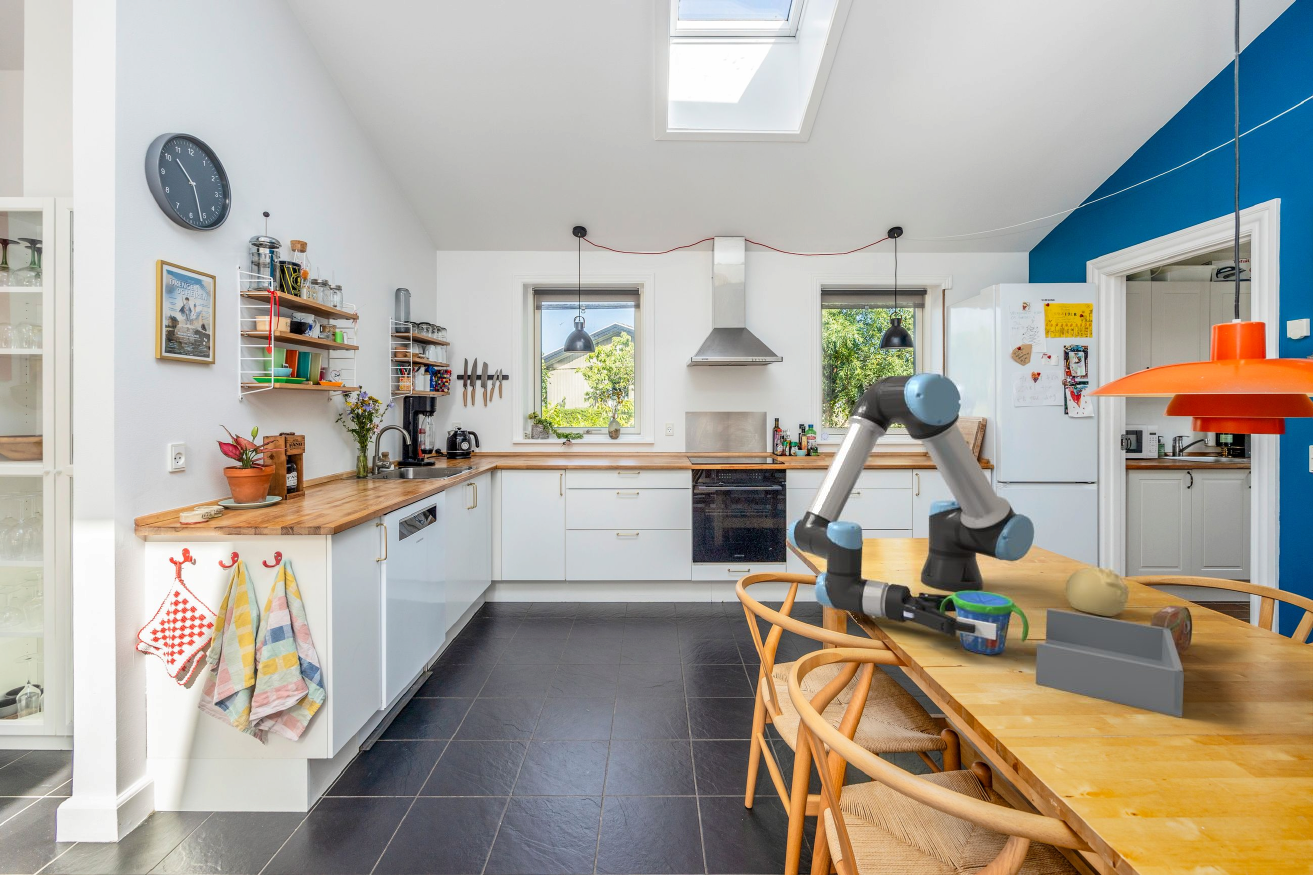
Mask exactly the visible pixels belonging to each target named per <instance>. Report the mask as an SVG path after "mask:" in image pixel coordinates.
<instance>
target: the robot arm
mask: <svg viewBox="0 0 1313 875" xmlns="http://www.w3.org/2000/svg"><path fill="white" fill-rule="evenodd" d="M960 401H961V394H960V391H959V388H958V387H957V385H956V384H955V383H954V382H953V381H952V380H951V379H950V378H949V377H947V376H946V375H943V374H940V373H929V372H921V373H917V374H906V375H890V376H885V377H883V378H881V379H879V380H877V381H876V382H874V383H873V384H872V385H871V386H869V387H868V388H867V389H866V390H865V391H864V393H863V394H862V396H860V398H859V400H858V401H857V403H856V404H855V406H854V407H853V409H852V411H851V413H850V415H849V417H848V419H847V421H848V424H849V426H848V427H847V430H846V432H845V433H844V436H843V438H842V440H841V442H840V444H839V445H838V448H837V450H836V451H835V453H834V456H833V458H832V460H831V462H830V463H829V466H828V468H827V469H826V472H825V473H824V476H823V478H822V480H821V482H820V483H819V486H818V488H817V489H816V491H815V494H814V496H813V498H812V500H811V502H810V504H809V506H808V508H807V510H806V512H805V514H804V516H803V517H802V518H800V519H799V518H798V519H796V520H794V521H793V522H792V523H790V525H789V527H788V530H787V539H788V541H789V543H790V545H791V546H792V547H793V548H796V549H798V550H799V551H801V552H803V553H807V554H811V555H813V556H816V557H819V558H821V559H823V560H826V571H824V572H823V571H822V572H820V573H819V574H818V576H817V577H816V580H815V586H814V595H815V599H816V602H818V604H819V605H821V606H824V607H829V608H831V609H832V608H833V609H835V610H842V611H847V612H852V613H857V614H862V615H868V616H871V618H872V619H876V618H877V617H878V618H882V619H885V618H886V619H888V620H891V621H896V622H900V623H905V622H907V621H908V622H912V623H915V624H918V625H921V626H923V627H926V628H929V629H932V630H934V631H937V632H939V633H942V634H944V635H949V636H950V637H956V636H957V635H956V634H957V633H959V632H960V633H964V634H969V635H974V636H979V637H984V638H989V639H994V640H996V624H992V623H987V622H982V621H977V620H971V619H966V618H961V617H958V618H957V617H956V618H955V617H953V616H951V615H948V614H946V612H947V613H948V612H950V613H952V612H953V613H955V612H956V609H955V605H954V602H953V600H952V599H950V600H949V601H948V602H947V603H946V605H945V613H942V612H940V607H941V604H942V602H943V601H944V600H945V599H946V598H947V597H949V596H950V595H951V594H939V593H938V594H937V593H927V592H918V596H916V595H914V596H913V595H912V594H911V590H910V587H909V586H907V585H902V584H896V583H891V584H889V582H886V581H878V580H872V579H867V578H866V579H865V578H862V569H863V568H862V566H863V564H862V563H863V562H862V560H863V545H864V541H863V529H862V526H861V525H860V524H858V523H855V522H850V521H839V519H840V517H841V514H842V512H843V510H844V508H845V506H846V504H847V503H848V500H849V498H850V495H852V492H853V490H854V488H855V486H856V484H857V483H858V480H859V478H860V477H861V474H862V473H863V470H864V467H865V466H866V463H867V462H868V460H869V458H870V456H871V454H872V451H873V450H874V448H875V445H876V443H877V442H878V440H879V438H882V437H884V436H886V433H887V431H888V429H889V428H890V427H891V426H893V425H894V424H895V425H896V424H899V425H901V424H902V425H903V426H904V427H905V430H906V431H907V433H908V434H909V436H910V437H911V439H913V440H916V441H920V442H921V443H922V445H923V446H924V449H925V450H926V452H927V453H928V456H930V458H931V460H932V462H933V463H934V465H935V467H936V468H937V470H938V472H939V474H940V475H941V477H942V478H943V481H944V482H945V484H946V486H947V487H948V489H949V490H950V492H951V494H952V495H953V497H954V499H955V500H954V499H953V500H936V501H933V502H932V503H931V504H930V506H929V514H928V555H927V557H926V559H925V563H924V565H923V567H922V570H921V572H920V582H921V583H922V584H924V585H926V586H928V587H931V588H934V589H938V590H942V591H949V592H960V591H982V590H983V588H984V587H983V584H984V581H983V576H982V574H981V571H980V568H979V565H978V560H977V554H979V555H983V556H986V557H988V558H989V557H990V558H994V559H997V560H999V561H1008V562H1016V561H1018V560H1021V559H1023V558H1024V557H1025V556H1026V555H1027V554H1028V552H1029V551H1030V549H1031V547H1032V545H1033V541H1034V538H1035V527H1034V523H1033V521H1032V520H1031V518H1030V517H1028V516H1026V515H1024V514H1021V513H1018V514H1017V513H1016V512H1015V511H1014V510H1013V507H1012V506H1011V504H1010V502H1009V501H1008V500H1007V499H1006V498H1004V497H1002V496H998V495H997V493H996V492H995V489H994V488H993V486H992V484H991V482H990V481H989V479H988V478H987V476H986V474H985V472H984V471H983V469H982V467H981V465H980V464H979V461H978V460H977V457H976V456H975V455H974V453H973V451H972V449H971V447H970V446H969V444H968V442H967V441H966V439H965V437H964V435H963V433H962V432H961V430H960V428H959V426H958V425H957V423H958V421H959V419H960V414H959V413H960V410H961V405H962V404H961V403H960Z"/></svg>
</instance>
